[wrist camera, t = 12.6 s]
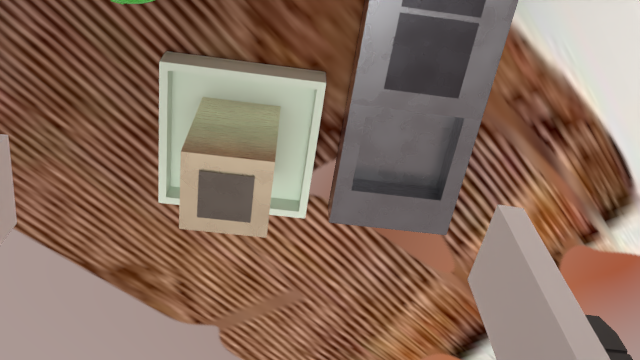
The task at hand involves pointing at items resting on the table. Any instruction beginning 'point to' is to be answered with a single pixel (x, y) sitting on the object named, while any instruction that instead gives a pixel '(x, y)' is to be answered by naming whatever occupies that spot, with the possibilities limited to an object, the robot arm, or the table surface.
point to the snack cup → (131, 1)
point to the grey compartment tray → (415, 110)
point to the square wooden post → (229, 167)
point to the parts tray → (246, 86)
